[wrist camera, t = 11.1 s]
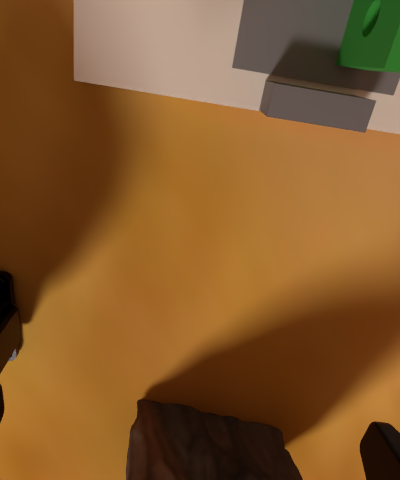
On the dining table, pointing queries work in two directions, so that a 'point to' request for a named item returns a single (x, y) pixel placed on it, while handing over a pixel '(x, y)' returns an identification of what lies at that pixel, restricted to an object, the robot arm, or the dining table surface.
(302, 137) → the dining table surface
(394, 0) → the green angled block
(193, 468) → the grey brown rock block
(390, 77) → the door panel
